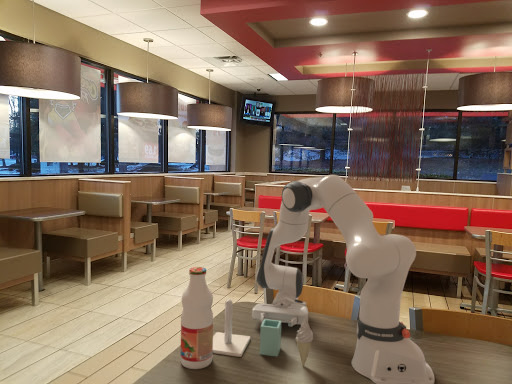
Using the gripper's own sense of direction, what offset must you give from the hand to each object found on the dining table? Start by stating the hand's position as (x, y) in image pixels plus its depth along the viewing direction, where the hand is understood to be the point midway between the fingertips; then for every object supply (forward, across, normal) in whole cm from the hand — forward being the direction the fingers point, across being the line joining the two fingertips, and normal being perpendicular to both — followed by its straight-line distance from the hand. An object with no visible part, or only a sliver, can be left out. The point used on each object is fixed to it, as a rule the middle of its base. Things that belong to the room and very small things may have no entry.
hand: (276, 322), depth 128 cm
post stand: (+10, -14, +5) cm, 18 cm away
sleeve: (+10, 0, +5) cm, 11 cm away
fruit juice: (+22, -20, +5) cm, 30 cm away
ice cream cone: (+16, +11, +5) cm, 20 cm away
